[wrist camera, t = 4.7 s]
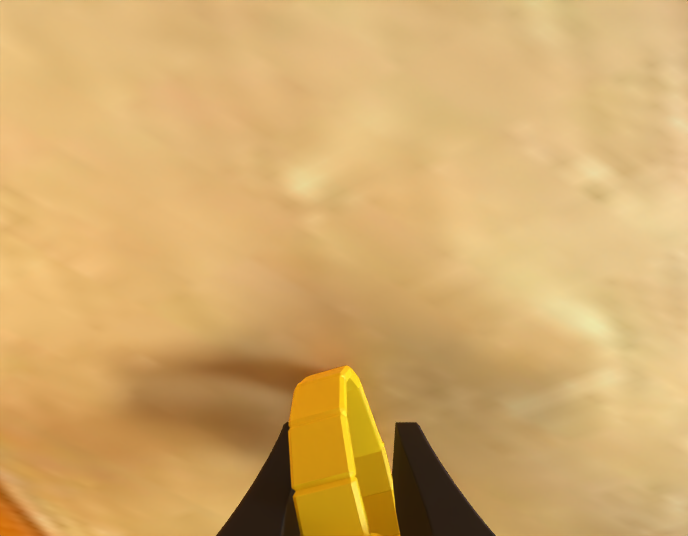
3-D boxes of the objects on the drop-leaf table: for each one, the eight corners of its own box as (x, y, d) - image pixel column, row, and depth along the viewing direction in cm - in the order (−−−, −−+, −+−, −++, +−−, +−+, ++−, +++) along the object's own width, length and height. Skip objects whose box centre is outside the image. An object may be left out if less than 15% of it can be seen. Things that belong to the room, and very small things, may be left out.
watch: (414, 466, 15) (459, 686, 9) (340, 484, 15) (340, 709, 9) (363, 326, 12) (382, 499, 7) (279, 350, 13) (232, 536, 7)
